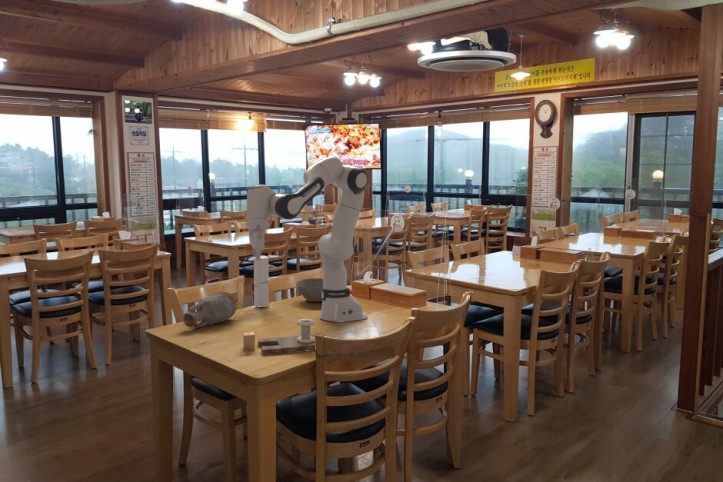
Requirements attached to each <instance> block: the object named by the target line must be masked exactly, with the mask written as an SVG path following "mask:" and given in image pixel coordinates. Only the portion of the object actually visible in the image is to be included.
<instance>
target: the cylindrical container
mask: <svg viewBox="0 0 723 482" xmlns="http://www.w3.org/2000/svg"><path fill="white" fill-rule="evenodd" d="M269 267H270V266H269V256H266V255H265V256H264V255H261V256H260V261H256V259H255V257H253V295H254V296H253V297H254V298H253V299H254V300H253V302H254V305H253V306H256V307H259V306H261V307H266V308H268V307H267V306H270V302H269V299H270V298H269V297H270V295H269V293H270V291H269V290H270V289H269V287H270V283H269V281H270V280H269V279H270V278H269V272H270V271H269ZM256 307H255V308H256Z"/></svg>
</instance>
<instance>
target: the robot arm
mask: <svg viewBox="0 0 723 482" xmlns="http://www.w3.org/2000/svg"><path fill="white" fill-rule="evenodd" d="M368 179H369V178H368V174H367V171H365V169H363V168H361V167H358V166H354V165H350V164H343V162H342V161H341V159H339V158H338V157H337V156H334V155H330V156H328V157H327V156H326V157H325V158H322V159H320V160H319V161H317V162H315V163H313V164H312V165H310V166H309V167H308V168H307V169H305V171H304V172H303V183H304V185H303V186H302V187H301V188H300V189H299V190H297V191H295V192H293V193H280V192H277V191H274V190H273V189H271V188H270V187H269V186H268V185H267V184H263V183H262V184H255V185H251V186H250V187H249V188H248V189H247V190H248V191H247V195H246V210H247V212H246V213H247V214H246V220H245V221H246V222H245V224H246V225H245V228H246V229H247V230H248V239H249V245H250V246H251V247H252V249H251V250H252V257H253V258H254V257H255V259H256V261H260V256H262V251H264V250H265V233H266V230H269V216H272V217H277V218H281V219H285V220H293V219H295V218H297V216H298V215H299V214H300V213H301V211H302V210H303V208H305V206H306V205H307V204H308V203H309V202H311V201H312V200H313V199H314V198H315V197H317V196H318V195H319V194H320V193H321V192H322V191H323V190H324V189H325V188H326V187H329V185H330V186H331V187H336V188H339V189H340V190H341V195H340V196H339V200H338V202H337V205H336V208H335V211H334V213H333V217H332V221H331V222H332V230H331V233H327V234H324V235H322V236H320V238H319V239H318V240H317V241H318V242H317V248H318V251H319V254H320V262H321V267H322V279H323V288H322V303H321V310H320V314H319V317H318V318H319V319H320V320H323V321H329V322H334V323H346V322H347V323H348V322H353V321H360V320H361V321H362V320H367V319H368V315H367V313H366V312H364V311H363V307H362V304H361V303H360V302H359V301H358V300H357V299H356V298H354V297H353V296H352V295H354V290H353V289H351V288H349V287H348V286H347V284H348V283H347V282H348V280H347V278H348V277H347V274H348V273H347V268H346V266H345V262H344V261H347V260H349V259H351V258H352V256H353V255H354V243H353V242H354V236H355V230H356V229H355V228H356V225H357V222H358V219H359V216H360V213H361V210H362V207H363V204H364V197H365V188H366V186H367V184H368Z"/></svg>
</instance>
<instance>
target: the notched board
mask: <svg viewBox="0 0 723 482" xmlns="http://www.w3.org/2000/svg"><path fill="white" fill-rule="evenodd" d="M315 335H316V334H310V336H313V337H314V336H315ZM299 336H300V335H292V336H281V337H279V336H278V337H268V338H266V337H265V338H258V339H257V345H258V348H260V350H261V351H260V352H261V354H262V355H263V356H265V355H279V354H290V353H289V352H292V353H298V352H297V351H304V352H307V351H306V350H315V341H314V342H312V343H299V342H297V337H299Z"/></svg>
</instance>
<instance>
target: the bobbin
mask: <svg viewBox="0 0 723 482" xmlns="http://www.w3.org/2000/svg"><path fill="white" fill-rule="evenodd" d="M315 323H316V322H315V319H312V318H301V319H297V320H296V325H298V326H300V329H301V330H300V335H298V336H299V337H297V342H299V343H312V342H314V340H315V339H314V337H313V336H310V335H311V326H314V325H315Z"/></svg>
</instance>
